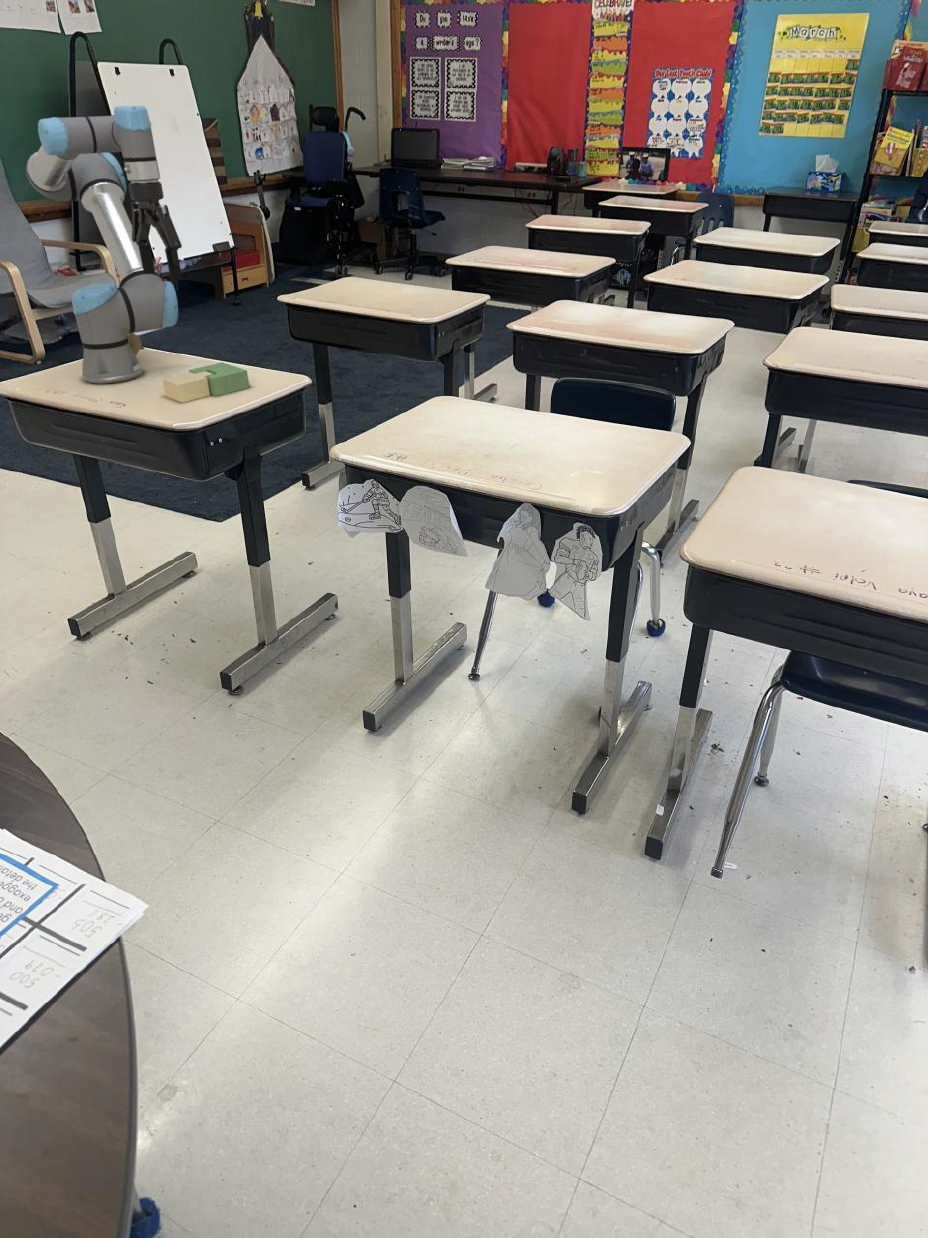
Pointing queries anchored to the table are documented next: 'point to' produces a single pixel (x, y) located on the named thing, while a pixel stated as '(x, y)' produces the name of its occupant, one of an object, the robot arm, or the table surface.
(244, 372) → the green u-shaped block
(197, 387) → the cream pad
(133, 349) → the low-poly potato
